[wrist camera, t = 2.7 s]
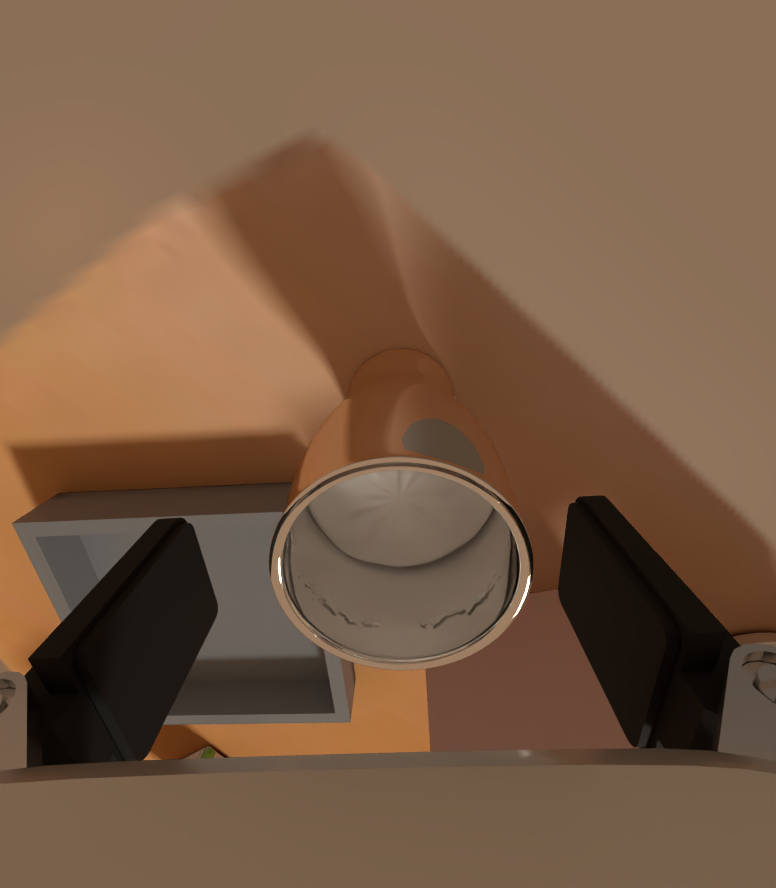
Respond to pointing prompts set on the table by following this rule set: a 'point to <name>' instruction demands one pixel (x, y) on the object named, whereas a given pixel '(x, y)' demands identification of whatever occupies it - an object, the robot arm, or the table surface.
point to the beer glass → (401, 526)
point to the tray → (235, 586)
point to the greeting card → (523, 691)
